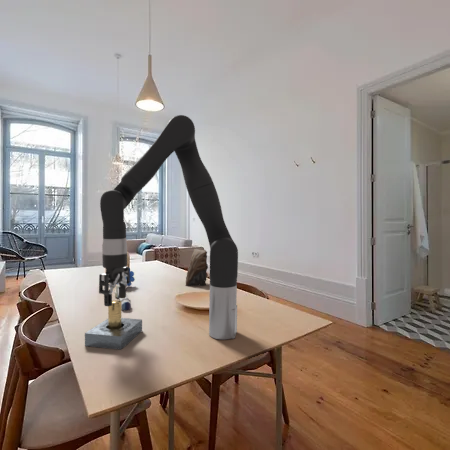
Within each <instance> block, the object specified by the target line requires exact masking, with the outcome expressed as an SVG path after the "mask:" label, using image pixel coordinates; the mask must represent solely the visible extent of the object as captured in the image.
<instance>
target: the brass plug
mask: <svg viewBox="0 0 450 450" xmlns="http://www.w3.org/2000/svg"><path fill="white" fill-rule="evenodd" d="M107 307H108V308H107V311H108V312H107V314H108V316H107V317H108V318H107V319H108V329H119V328H121V318H122V308H121V301H120V300H119V299H114V300H113V299H112V305H111V306H107Z"/></svg>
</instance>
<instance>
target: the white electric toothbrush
mask: <svg viewBox="0 0 450 450" xmlns="http://www.w3.org/2000/svg"><path fill="white" fill-rule="evenodd" d="M119 287H120V286H119V285H118V284H116V286H115V288H114V292H113V294H114V297H115V298H118V300H120V301H121V311H129V310H130V309H131V308H132V304H131V299H130V298H129V296H128V294H127V293H126V297H125V298H119Z"/></svg>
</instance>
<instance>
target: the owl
mask: <svg viewBox="0 0 450 450" xmlns="http://www.w3.org/2000/svg"><path fill="white" fill-rule="evenodd" d="M189 260H190V261H189V265H188V269H187V273H186V276H185V287H187V286H188V287H191V286H192V287H195V286H196V287H198V286H199V287H205V286H207V283H206V282H207V278H208V273H207V272H208V269H209V266H208V263H207V261H208V251H207V250H206V249H203V250H202V249H198V248H194V249H193V252H192V255H191V258H190V259H189Z"/></svg>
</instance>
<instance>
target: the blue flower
mask: <svg viewBox="0 0 450 450" xmlns="http://www.w3.org/2000/svg"><path fill="white" fill-rule="evenodd" d="M134 275H135V272H134V271H132V270H131V268H130V267H129V276H130V283H129V284H127V286H126V287H130V286H132V283H133V282H135V277H134ZM125 278H126V280H127V277H125ZM117 284H118V283H117ZM117 284H116V285H117Z"/></svg>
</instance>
